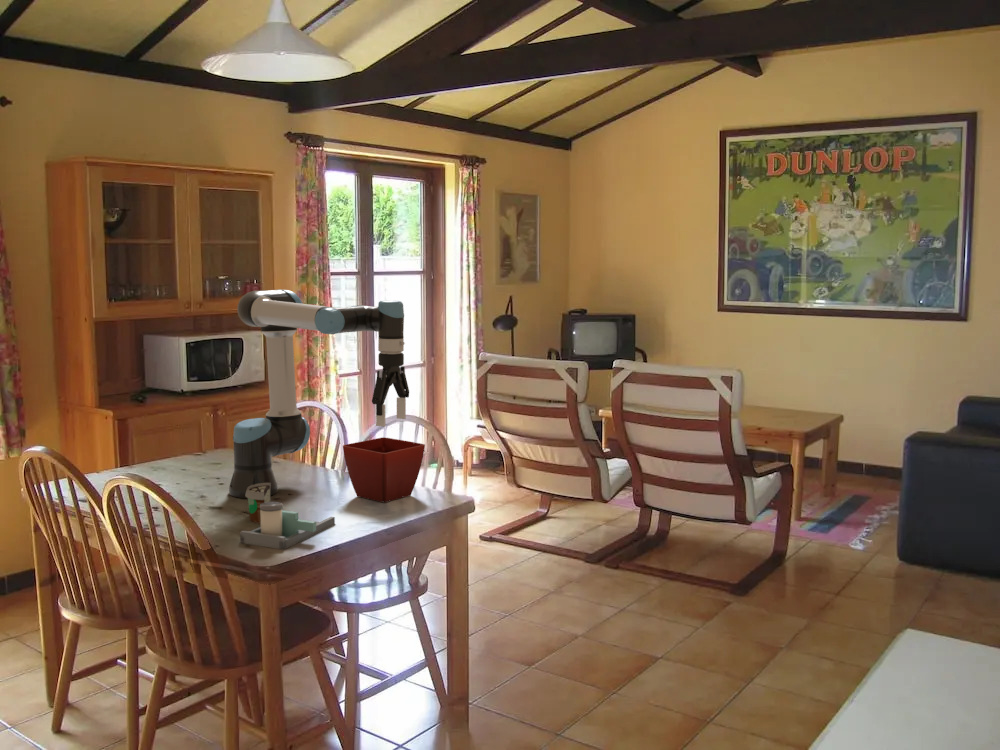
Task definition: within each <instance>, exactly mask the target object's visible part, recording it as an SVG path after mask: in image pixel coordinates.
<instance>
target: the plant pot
mask: <svg viewBox="0 0 1000 750" xmlns="http://www.w3.org/2000/svg"><path fill="white" fill-rule="evenodd" d="M425 449H426V444H424V443H419V442H415V441H409V440H403V439H397V438H391V437H383V436H382V437H379V438H373V439H372V438H371V439H366V440H363V441H358V442H357V441H356V442H353V443H346V444H344V445H342V450H343V455H344V461H345V465H346V468H347V469H346V470H347V472H348V476H349V478H350V482H351V484H352V487H353V490H354V492H355V494H356V497H358V498H362V499H363V498H364V499H368V500H371V501H376V502H380V503H388V502H392V501H395V500H399V499H403V498H406V497H411V495H412V493H413V491H414V489H415V486H416V483H417V480H418V478H419V477H418V476H419V473H420V470H421V467H422V463H423V459H424V454H425Z"/></svg>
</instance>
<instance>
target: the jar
mask: <svg viewBox="0 0 1000 750" xmlns="http://www.w3.org/2000/svg"><path fill="white" fill-rule="evenodd" d="M282 510H283V503H282V502H279V501H270V502H266V503H262V504H260V516H261V523H260V527H261V533H263V534H270V535H277V536H283V535H282Z"/></svg>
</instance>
